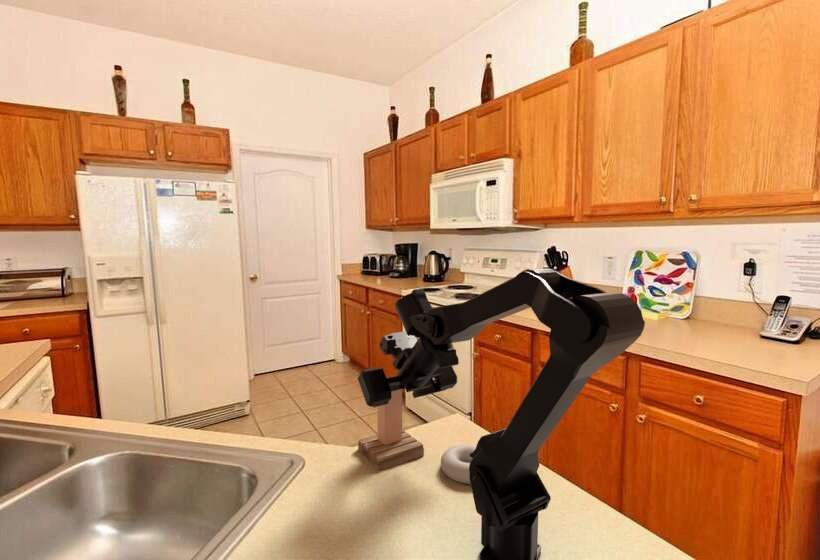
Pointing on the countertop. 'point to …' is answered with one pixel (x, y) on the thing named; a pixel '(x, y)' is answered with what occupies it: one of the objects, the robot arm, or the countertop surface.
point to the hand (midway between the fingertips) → (394, 400)
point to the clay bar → (390, 419)
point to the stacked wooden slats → (390, 450)
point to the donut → (457, 462)
